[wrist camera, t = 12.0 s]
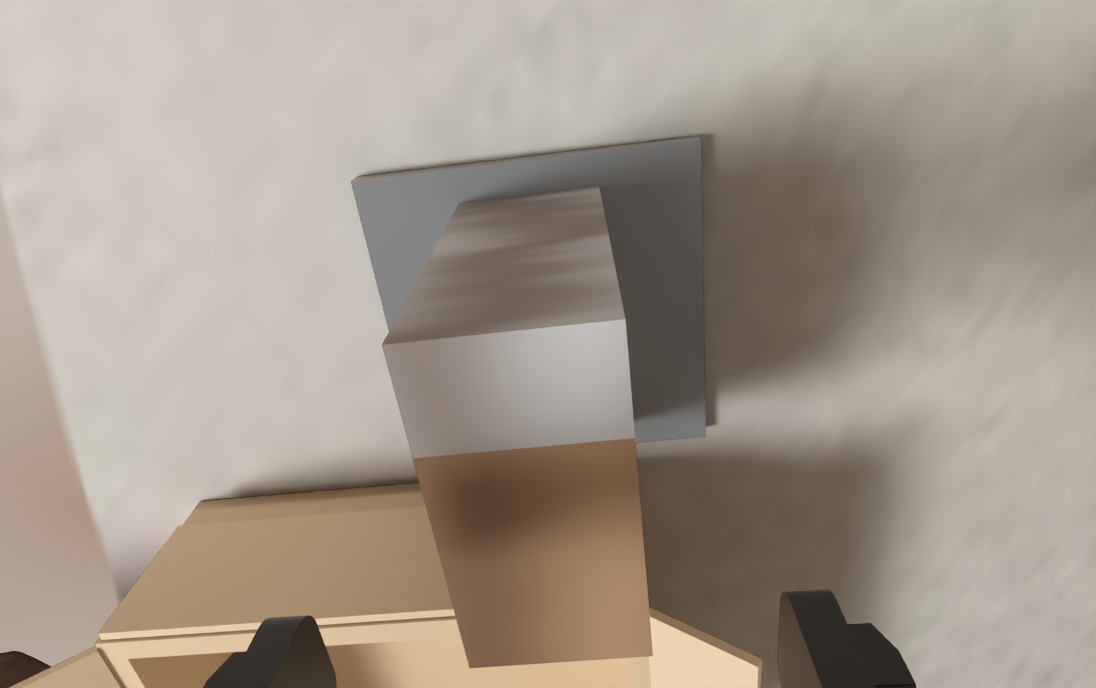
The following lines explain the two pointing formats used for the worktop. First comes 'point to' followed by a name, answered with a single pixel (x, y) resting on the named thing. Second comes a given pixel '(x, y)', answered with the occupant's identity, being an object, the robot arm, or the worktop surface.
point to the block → (527, 430)
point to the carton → (342, 606)
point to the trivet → (636, 241)
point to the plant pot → (18, 668)
